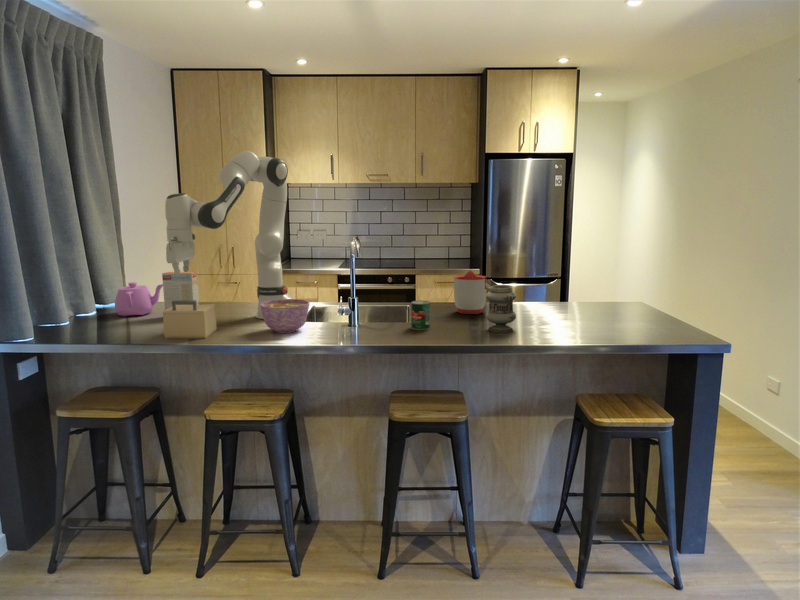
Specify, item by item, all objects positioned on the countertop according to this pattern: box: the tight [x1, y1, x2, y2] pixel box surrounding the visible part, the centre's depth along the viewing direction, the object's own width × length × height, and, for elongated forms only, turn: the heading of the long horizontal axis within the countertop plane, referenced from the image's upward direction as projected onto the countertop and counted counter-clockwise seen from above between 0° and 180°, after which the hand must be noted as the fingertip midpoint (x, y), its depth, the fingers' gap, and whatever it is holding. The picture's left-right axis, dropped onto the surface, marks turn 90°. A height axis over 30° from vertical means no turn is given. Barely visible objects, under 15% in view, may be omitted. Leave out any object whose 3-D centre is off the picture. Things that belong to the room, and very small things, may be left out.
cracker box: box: [161, 271, 200, 310], centre depth 266 cm, size 14×6×21 cm, turn 84°
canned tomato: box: [410, 299, 431, 331], centre depth 241 cm, size 8×8×11 cm
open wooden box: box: [162, 306, 218, 339], centre depth 232 cm, size 16×14×10 cm
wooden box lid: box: [162, 300, 216, 314], centre depth 231 cm, size 16×14×5 cm
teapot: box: [114, 282, 163, 317], centre depth 273 cm, size 23×21×15 cm
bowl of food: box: [260, 298, 310, 334], centre depth 237 cm, size 20×20×12 cm
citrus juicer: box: [453, 270, 491, 315], centre depth 273 cm, size 16×17×20 cm
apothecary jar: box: [485, 284, 517, 333], centre depth 237 cm, size 12×12×18 cm
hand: (181, 272), depth 223 cm, fingers open, 8 cm apart
